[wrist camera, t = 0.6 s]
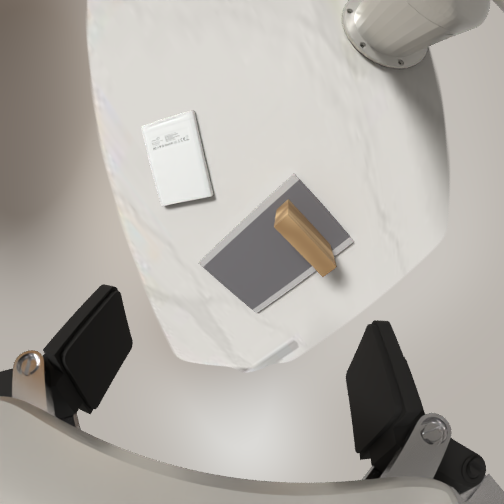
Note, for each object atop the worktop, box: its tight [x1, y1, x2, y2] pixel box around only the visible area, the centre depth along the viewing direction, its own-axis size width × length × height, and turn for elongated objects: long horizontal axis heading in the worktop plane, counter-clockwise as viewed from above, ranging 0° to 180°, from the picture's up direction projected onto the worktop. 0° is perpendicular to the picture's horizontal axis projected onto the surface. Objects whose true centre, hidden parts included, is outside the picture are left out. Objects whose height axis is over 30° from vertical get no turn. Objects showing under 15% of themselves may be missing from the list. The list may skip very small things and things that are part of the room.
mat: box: [199, 174, 354, 313], centre depth 40 cm, size 20×13×1 cm, turn 136°
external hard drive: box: [141, 110, 213, 206], centre depth 36 cm, size 2×8×12 cm
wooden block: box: [274, 199, 337, 277], centre depth 35 cm, size 2×9×6 cm, turn 46°
